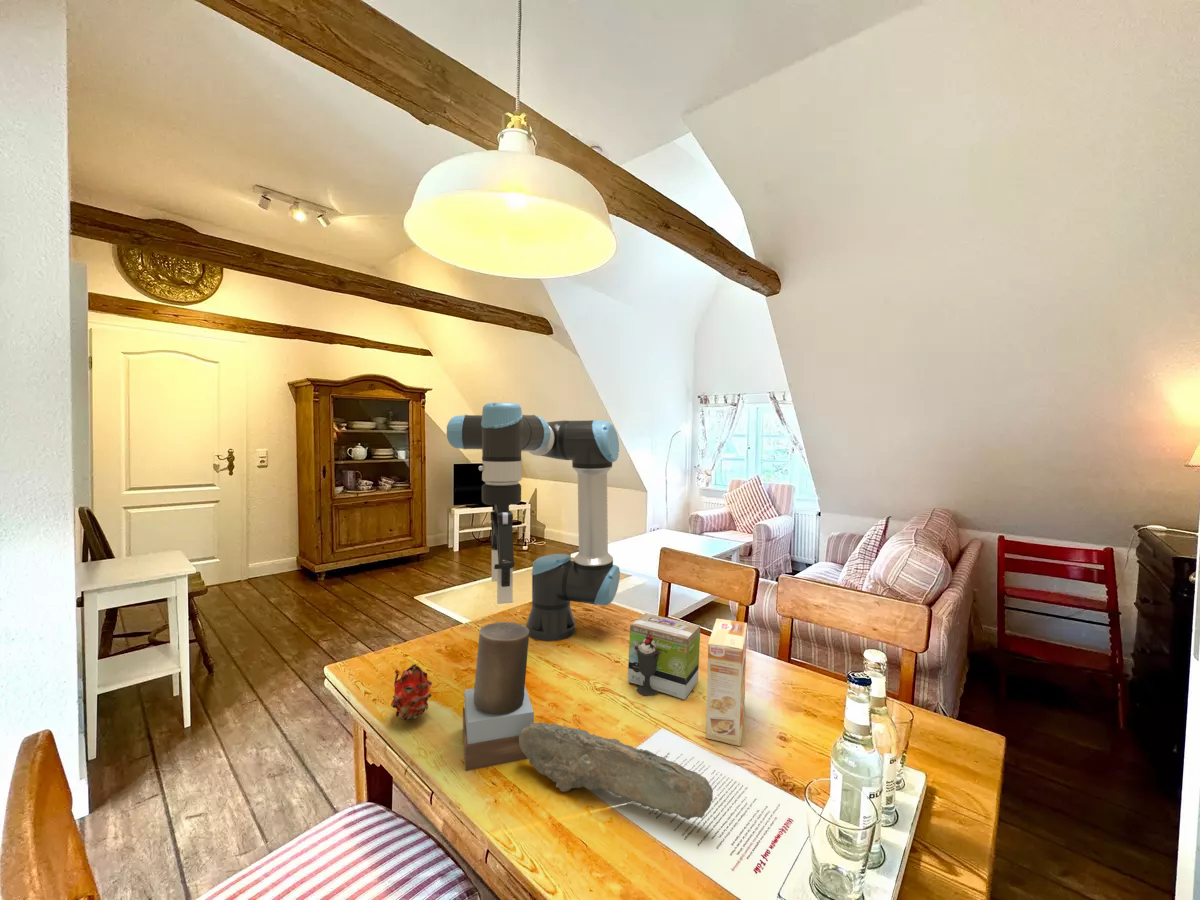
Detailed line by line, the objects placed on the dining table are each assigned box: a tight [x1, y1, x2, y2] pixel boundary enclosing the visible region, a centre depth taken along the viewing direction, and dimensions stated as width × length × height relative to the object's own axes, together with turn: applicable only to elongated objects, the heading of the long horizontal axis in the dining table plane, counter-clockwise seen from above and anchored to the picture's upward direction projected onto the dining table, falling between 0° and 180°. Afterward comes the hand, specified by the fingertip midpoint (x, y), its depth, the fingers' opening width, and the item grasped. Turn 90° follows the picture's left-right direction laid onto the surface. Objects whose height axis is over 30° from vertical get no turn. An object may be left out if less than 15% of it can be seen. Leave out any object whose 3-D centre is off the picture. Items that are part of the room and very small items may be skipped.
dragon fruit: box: [390, 663, 433, 721], centre depth 103 cm, size 8×8×12 cm
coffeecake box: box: [705, 618, 748, 747], centre depth 103 cm, size 15×7×20 cm, turn 160°
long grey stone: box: [519, 722, 714, 821], centre depth 82 cm, size 35×5×10 cm, turn 68°
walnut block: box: [462, 706, 529, 772], centre depth 96 cm, size 13×13×5 cm
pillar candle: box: [474, 621, 530, 713], centre depth 95 cm, size 10×10×15 cm
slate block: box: [464, 686, 535, 744], centre depth 95 cm, size 12×12×4 cm
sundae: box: [634, 631, 661, 697], centre depth 116 cm, size 7×7×15 cm
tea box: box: [627, 612, 701, 701], centre depth 119 cm, size 15×10×15 cm
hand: (501, 591), depth 95 cm, fingers open, 13 cm apart
